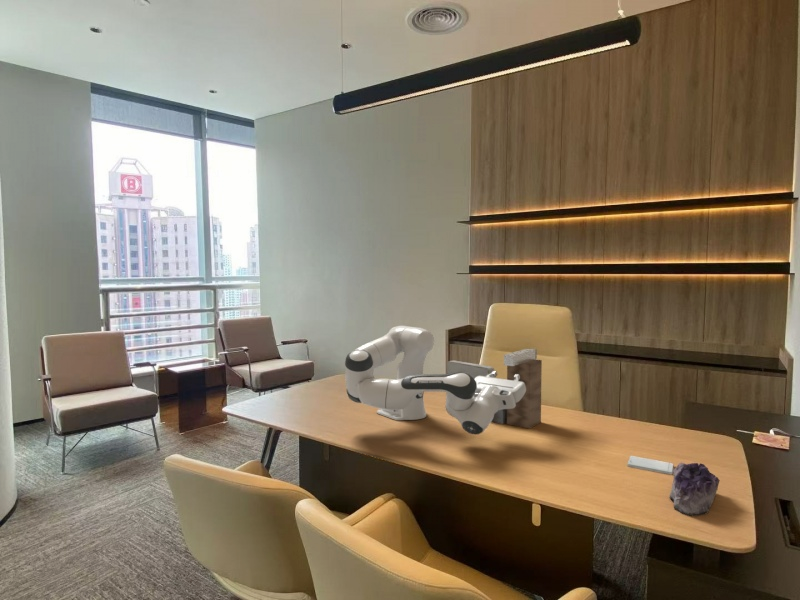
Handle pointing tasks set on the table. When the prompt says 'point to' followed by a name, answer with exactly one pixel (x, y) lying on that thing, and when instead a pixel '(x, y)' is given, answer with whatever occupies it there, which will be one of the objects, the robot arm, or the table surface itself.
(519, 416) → the two-tier stand
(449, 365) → the network device
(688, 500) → the geode
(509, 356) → the grey rectangular bar
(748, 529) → the table surface
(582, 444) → the table surface
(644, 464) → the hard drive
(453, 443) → the table surface
